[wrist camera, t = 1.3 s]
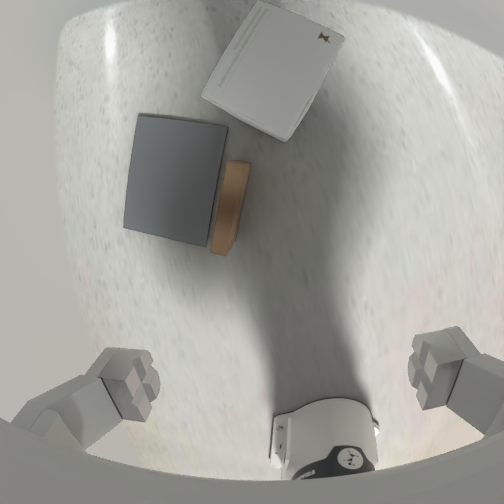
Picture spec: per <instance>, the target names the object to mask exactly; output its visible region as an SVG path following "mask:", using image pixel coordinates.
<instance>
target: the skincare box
mask: <svg viewBox="0 0 504 504" xmlns="http://www.w3.org/2000/svg"><path fill="white" fill-rule="evenodd" d="M343 42H344V36H343V35H340V34H338V33H337V32H335V31H333V30H331V29H329V28H327V27H324V26H322V25H320V24H318V23H316V22H313V21H311V20H309V19H307V18H304V17H302V16H299V15H297V14H295V13H292V12H290V11H287V10H284V9H282V8H279V7H277V6H274V5H271V4H269V3H266V2H263V1H260V0H257V2H256V3H255V5H254V6H253V8H252V9H251V11H250V12H249V14H248V15H247V16H246V18H245V20H244V21H243V23H242V24H241V26H240V27H239V29H238V30H237V32H236V33H235V35H234V37H233V38H232V40H231V41H230V43H229V45H228V46H227V48H226V50H225V51H224V53H223V55H222V56H221V58H220V60H219V62H218V63H217V65H216V67H215V69H214V70H213V72H212V74H211V76H210V78H209V80H208V81H207V83H206V85H205V87H204V89H203V91H202V93H201V97H203V98H204V99H206V100H208V101H210V102H211V103H213V104H215V105H216V106H218V107H220V108H221V109H223V110H224V111H226V112H228V113H229V114H231V115H232V116H234V117H236V118H237V119H239V120H241V121H243V122H245V123H246V124H248V125H250V126H252V127H254V128H256V129H258V130H260V131H262V132H264V133H266V134H268V135H270V136H272V137H274V138H276V139H278V140H280V141H282V142H285V143H286V142H287V141H288V139H289V138H290V137H291V136H292V134H293V133H294V131H295V130H296V128H297V127H298V125H299V124H300V122H301V120H302V119H303V117H304V116H305V114H306V113H307V111H308V109H309V108H310V106H311V104H312V102H313V100H314V98H315V96H316V94H317V92H318V91H319V89H320V88H321V86H322V84H323V81H324V79H325V77H326V75H327V73H328V71H329V69H330V67H331V65H332V63H333V61H334V59H335V57H336V55H337V53H338V51H339V49H340V48H341V46H342V44H343Z"/></svg>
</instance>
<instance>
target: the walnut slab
mask: <svg viewBox="0 0 504 504" xmlns="http://www.w3.org/2000/svg"><path fill="white" fill-rule="evenodd" d="M250 166H251V163H248V162H243V161H238V160H236V161H227V164H226V169H225V174H224V180H223V185H222V190H221V195H220V201H219V206H218V212H217V217H216V223H215V229H214V234H213V240H212V246H211V252H210V253H214V254H218V255H222V256H227V254H228V252H229V251H230V249H231V247H232V245H233V244H234V242H235V240H236V235H237V230H238V225H239V220H240V215H241V210H242V205H243V200H244V195H245V190H246V186H247V181H248V176H249V171H250Z"/></svg>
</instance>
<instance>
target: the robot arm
mask: <svg viewBox="0 0 504 504" xmlns="http://www.w3.org/2000/svg"><path fill="white" fill-rule="evenodd" d="M412 347H413V349H414V353H413V354H412V355H411V356H410V357H409V362H408V376H409V380H410V383H411V385H412V386H413V387H415V388H416V389H418V391H417V394H416V397H417V399H418V401H419V404H420V406H421V408H422V410H427V409H432V408H436V407H440V406H444V405H447V407H448V408H449V409H451V410H452V411H453V412H455V413H456V414H457V415H459V416H460V417H461V418H463V419H464V420H465V421H467V422H468V423H469V424H471V425H472V426H473V427H475V428H476V429H477V430H479V431H480V432H481V433H483V434H484V437H483V438H482V440H480V441H477V442H475V443H472V444H470V445H467V446H464V447H461V448H459V449H456V450H453V451H450V452H447V453H444V454H440V455H437V456H434V457H430V458H427V459H423V460H420V461H416V462H412V463H408V464H404V465H400V466H395V467H391V468H386V469H381V470H376V471H375V468H374V467H375V465H376V464H377V463H378V454H377V444H376V436H377V435H378V434H379V432H380V430H379V426H378V425H377V424H376V423H375V422H373V420H372V417H371V413H370V411H369V409H368V408H367V407H366V406H365V405H363V404H362V403H360V402H357V401H354V400H350V399H343V398H333V399H325V400H320V401H316V402H313V403H310V404H308V405H305V406H303V407H302V408H300V409H298V410H296V411H294V412H292V413H287V414H282V415H279V416H276V417H275V418H274V422H273V433H272V444H271V454H270V464H271V465H272V466H274V467H276V468H279V469H281V480H279V481H254V480H229V479H215V478H205V477H195V476H187V475H180V474H173V473H167V472H161V471H156V470H150V469H145V468H140V467H135V466H131V465H127V464H123V463H118V462H115V461H111V460H107V459H104V458H100V457H97V456H93V455H90V454H87V453H86V451H85V450H86V449H87V448H88V447H89V446H91V445H92V444H93V443H95V442H96V441H97V440H99V439H100V438H101V437H102V436H104V435H105V434H106V433H107V432H109V431H110V430H111V429H113V428H114V427H115V426H116V425H118V424H119V423H120V422H121V421H123V420H122V419H125V420H132V421H139V422H146V420H147V418H148V416H149V414H150V411H151V409H152V406H151V404H150V402H152V401H153V400H155V399H156V398H157V396H158V394H159V390H160V379H159V375H158V372H157V371H156V370H155V369H154V368H153V367H152V366H151V364H152V362H153V359H152V356H151V353H150V352H149V351H147V350H138V349H127V348H114V347H108V348H105V349H104V351H103V352H102V353H101V354H100V356H99V357H98V358H97V360H96V361H95V362H94V363H93V365H92V366H91V367H90V369H89V370H88V371H87V372H86V374H85V375H79V376H78V377H76V378H74V379H72V380H70V381H68V382H66V383H64V384H62V385H60V386H58V387H56V388H54V389H52V390H49V391H47V392H45V393H43V394H42V395H39V396H37V397H35V398H33V399H31V400H29V401H28V402H27V403H26V404H25V406H24V407H23V408H22V409H21V410H20V412H19V413H18V414H17V415H16V417H15V418H14V419H13V420H12V422H11V423H9V422H7V421H5V420H3V419H1V418H0V504H504V362H503V361H501V360H499V359H496V358H494V357H492V356H489V355H487V354H480V352H479V351H478V350H477V349H476V347H475V346H474V345H473V343H472V342H471V341H470V340H469V338H468V337H467V336H466V335H465V333H464V332H463V331H462V330H461V329H460V328H459V327H457V326H454V327H450V328H446V329H443V330H439V331H434V332H428V333H423V334H417V335H415V337H414V339H413V342H412Z"/></svg>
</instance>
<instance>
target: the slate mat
mask: <svg viewBox="0 0 504 504" xmlns="http://www.w3.org/2000/svg"><path fill="white" fill-rule="evenodd" d="M227 130H228V127H225V126H219V125H212V124H205V123H198V122H191V121H183V120H174V119H165V118H155V117H144V116H138V121H137V126H136V131H135V137H134V143H133V149H132V156H131V163H130V170H129V177H128V186H127V194H126V204H125V214H124V226H123V228H126V229H130V230H135V231H139V232H143V233H147V234H152V235H156V236H160V237H164V238H169V239H173V240H177V241H182V242H186V243H190V244H194V245H199V246H203V247H206V244H207V238H208V232H209V226H210V220H211V214H212V208H213V203H214V197H215V192H216V186H217V181H218V176H219V170H220V165H221V160H222V155H223V150H224V145H225V140H226V135H227Z"/></svg>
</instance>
